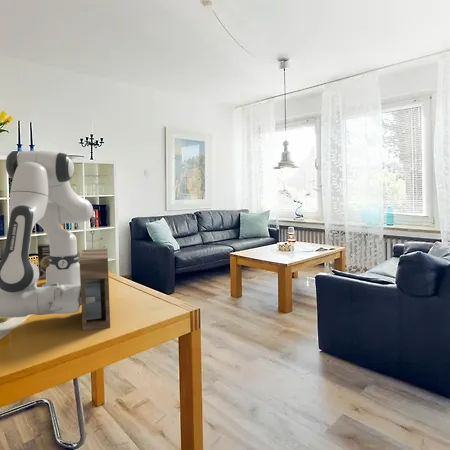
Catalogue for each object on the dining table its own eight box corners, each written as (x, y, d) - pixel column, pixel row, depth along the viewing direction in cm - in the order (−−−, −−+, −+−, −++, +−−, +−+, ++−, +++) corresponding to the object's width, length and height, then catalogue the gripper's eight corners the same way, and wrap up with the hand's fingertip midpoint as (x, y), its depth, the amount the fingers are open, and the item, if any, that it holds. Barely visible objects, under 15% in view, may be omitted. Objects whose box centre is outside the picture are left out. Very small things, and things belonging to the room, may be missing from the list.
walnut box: (85, 311, 130) (82, 249, 127) (109, 308, 132) (107, 248, 130) (82, 330, 112) (79, 260, 110) (110, 327, 115) (107, 258, 112)
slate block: (86, 314, 124) (84, 280, 122) (101, 313, 125) (100, 279, 124) (85, 319, 119) (83, 284, 118) (101, 318, 121) (100, 283, 119)
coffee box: (38, 279, 174) (36, 245, 172) (39, 276, 179) (37, 243, 178) (59, 277, 177) (57, 244, 175) (59, 274, 183) (58, 242, 181)
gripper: (44, 300, 107) (94, 295, 111) (53, 282, 126) (95, 279, 131) (45, 321, 108) (95, 315, 112) (54, 299, 127) (96, 296, 131)
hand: (95, 295), depth 122 cm, fingers closed on slate block, 5 cm apart
